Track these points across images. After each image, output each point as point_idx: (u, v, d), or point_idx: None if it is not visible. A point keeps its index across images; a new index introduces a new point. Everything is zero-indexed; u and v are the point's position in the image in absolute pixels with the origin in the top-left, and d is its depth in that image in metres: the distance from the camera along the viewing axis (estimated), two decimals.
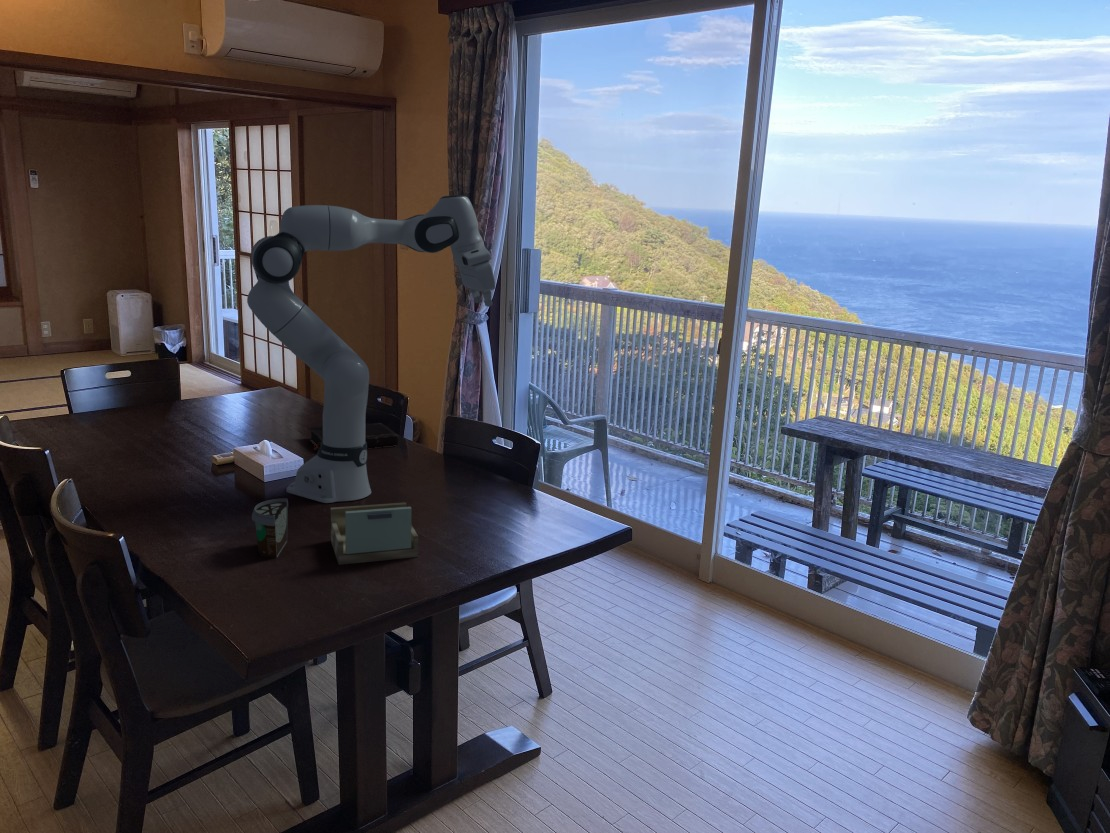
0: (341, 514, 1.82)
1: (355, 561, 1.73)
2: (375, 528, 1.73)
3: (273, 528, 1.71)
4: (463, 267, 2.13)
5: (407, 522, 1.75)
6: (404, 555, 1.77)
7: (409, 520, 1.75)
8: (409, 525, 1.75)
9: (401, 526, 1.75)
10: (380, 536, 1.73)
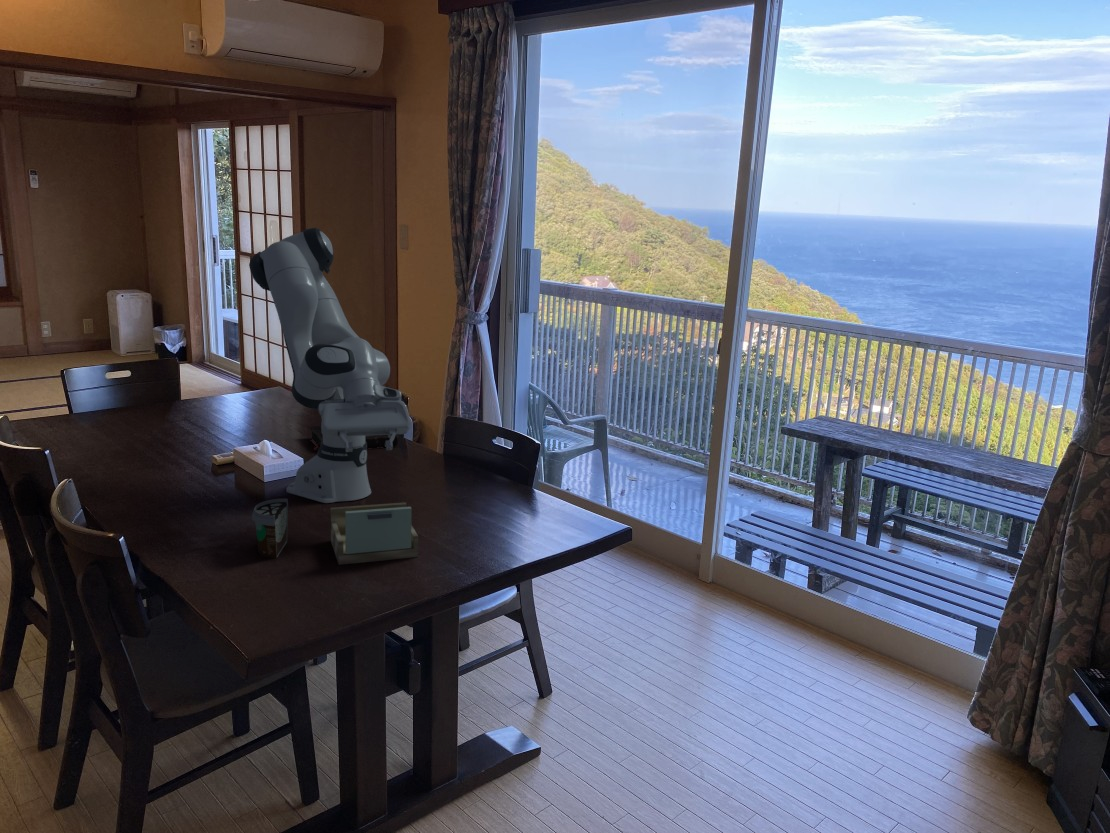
0: (341, 514, 1.82)
1: (355, 561, 1.73)
2: (375, 528, 1.73)
3: (273, 528, 1.71)
4: (370, 401, 1.86)
5: (407, 522, 1.75)
6: (404, 555, 1.77)
7: (409, 520, 1.75)
8: (409, 525, 1.75)
9: (401, 526, 1.75)
10: (380, 536, 1.73)
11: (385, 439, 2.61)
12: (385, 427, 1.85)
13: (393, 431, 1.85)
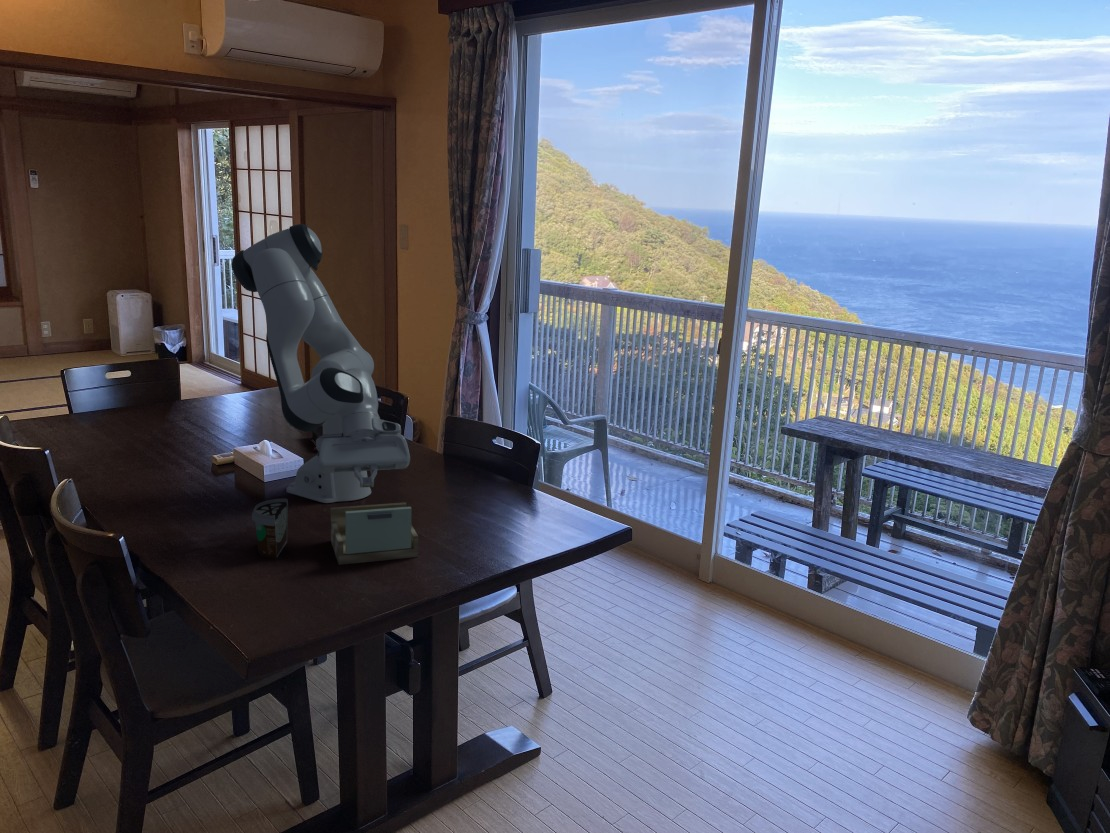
0: (341, 514, 1.82)
1: (355, 561, 1.73)
2: (375, 528, 1.73)
3: (273, 528, 1.71)
4: (368, 435, 1.81)
5: (407, 522, 1.75)
6: (404, 555, 1.77)
7: (409, 520, 1.75)
8: (409, 525, 1.75)
9: (401, 526, 1.75)
10: (380, 536, 1.73)
11: None
12: (383, 462, 1.80)
13: (375, 467, 1.79)
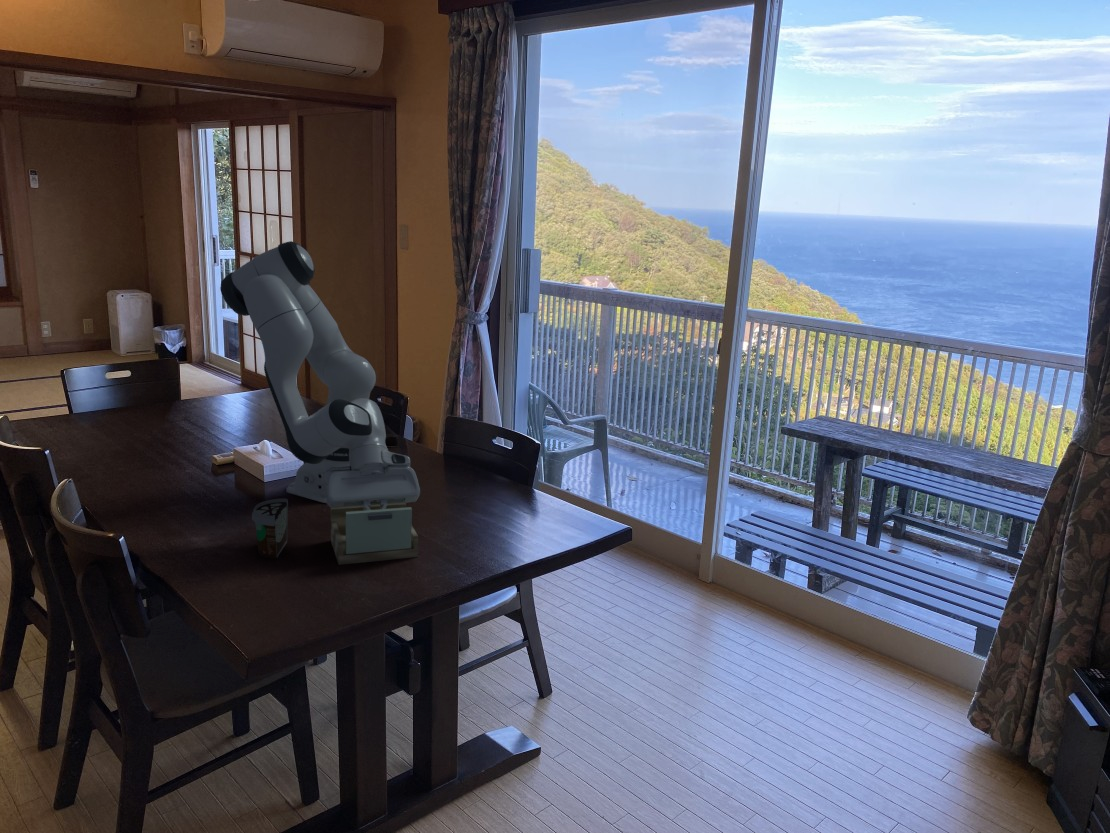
0: (341, 514, 1.82)
1: (355, 561, 1.73)
2: (375, 528, 1.72)
3: (273, 528, 1.71)
4: (377, 469, 1.77)
5: (407, 523, 1.75)
6: (404, 555, 1.77)
7: (409, 521, 1.75)
8: (409, 525, 1.75)
9: (401, 526, 1.74)
10: (380, 536, 1.73)
11: None
12: (393, 496, 1.76)
13: (384, 502, 1.76)
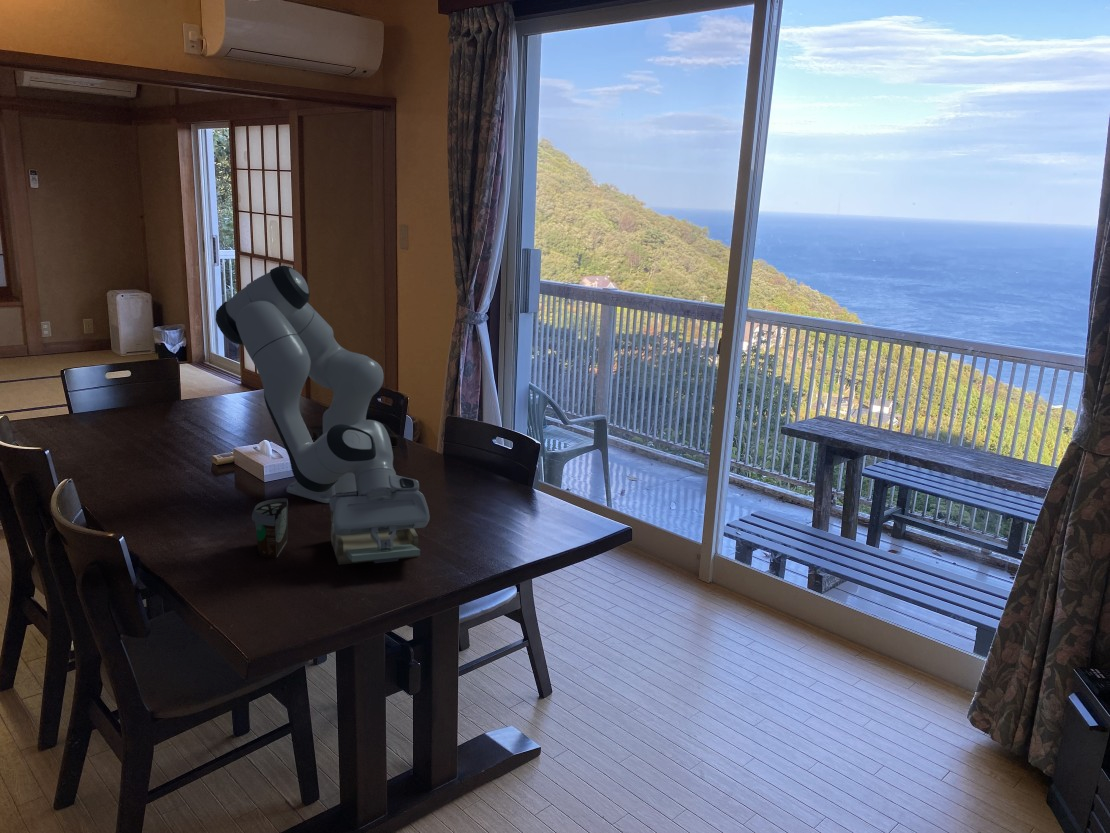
0: None
1: None
2: None
3: (273, 528, 1.71)
4: (385, 494, 1.70)
5: None
6: None
7: None
8: None
9: None
10: None
11: None
12: (402, 523, 1.69)
13: (393, 528, 1.69)
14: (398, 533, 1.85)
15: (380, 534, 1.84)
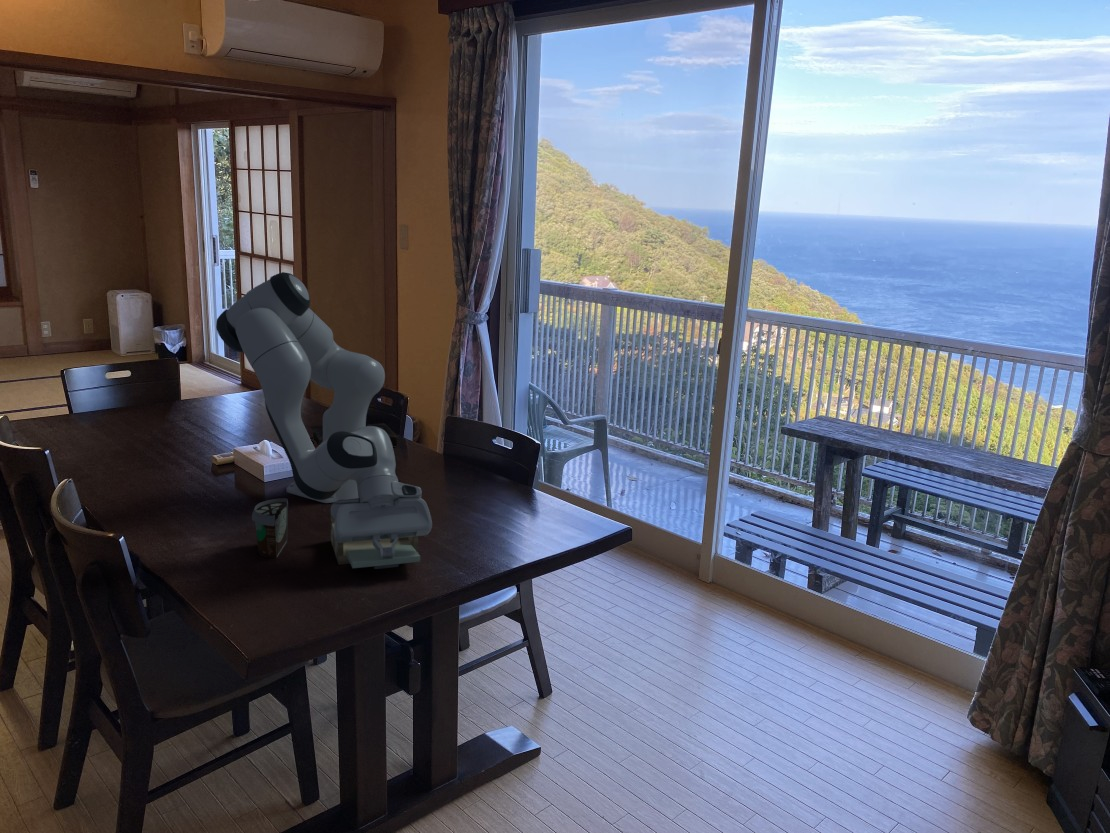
0: None
1: None
2: None
3: (273, 528, 1.71)
4: (387, 501, 1.68)
5: None
6: None
7: None
8: None
9: None
10: None
11: None
12: (404, 530, 1.67)
13: (395, 536, 1.67)
14: None
15: None
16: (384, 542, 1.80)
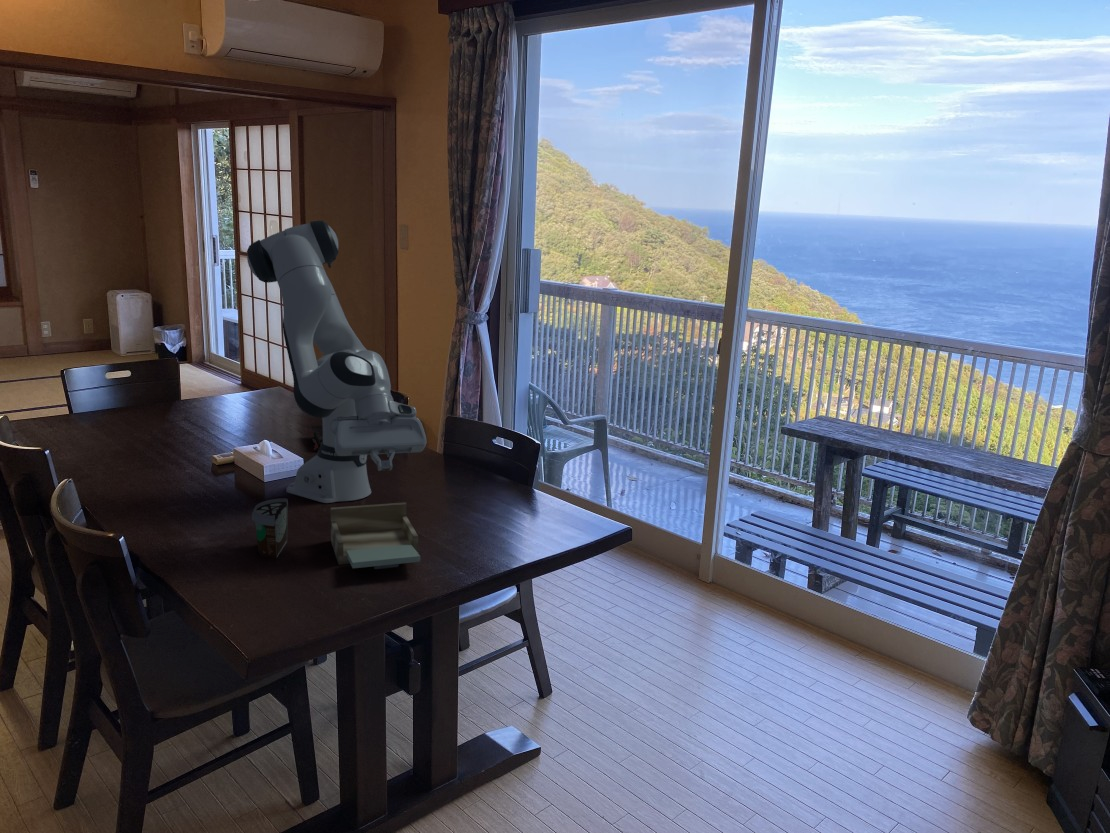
0: (341, 514, 1.82)
1: None
2: None
3: (273, 528, 1.71)
4: (385, 418, 1.79)
5: None
6: None
7: None
8: None
9: None
10: None
11: None
12: (401, 445, 1.78)
13: (392, 450, 1.78)
14: (398, 533, 1.85)
15: (380, 534, 1.84)
16: (384, 542, 1.80)
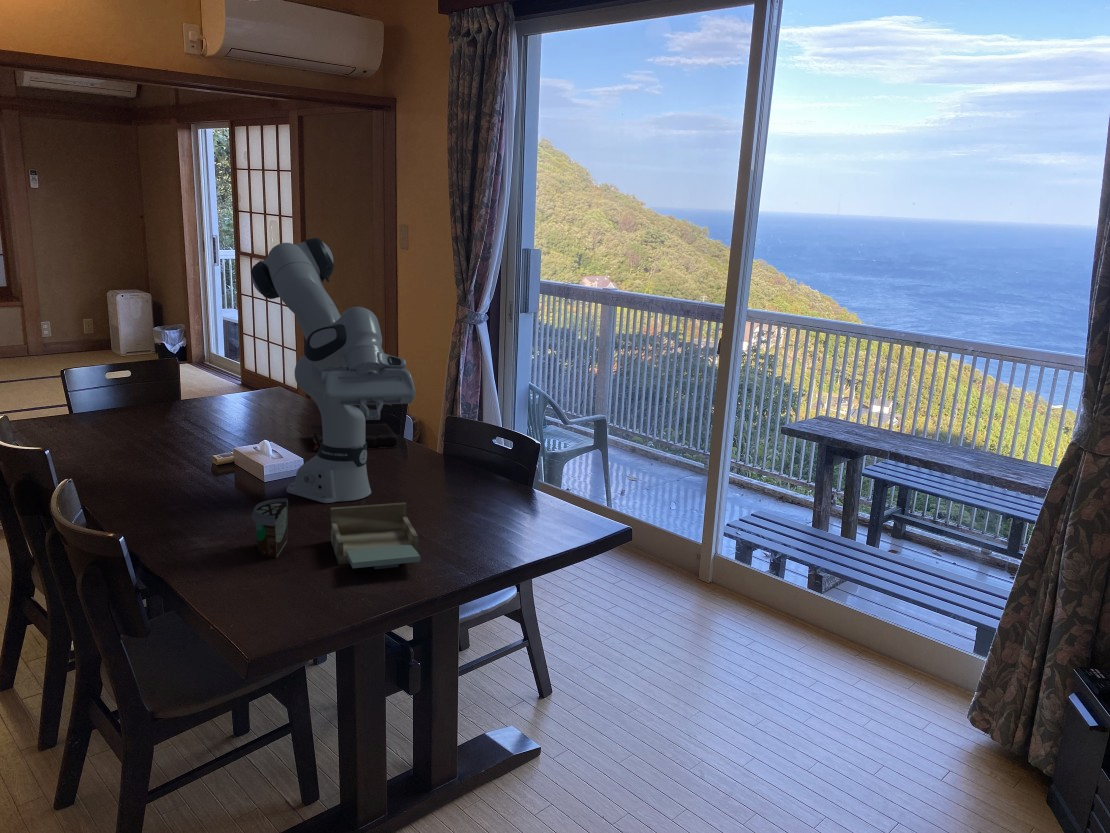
0: (341, 514, 1.82)
1: None
2: None
3: (273, 528, 1.71)
4: (374, 369, 1.81)
5: None
6: None
7: None
8: None
9: None
10: None
11: (383, 440, 2.60)
12: (389, 396, 1.80)
13: (381, 400, 1.79)
14: (398, 533, 1.85)
15: (380, 534, 1.84)
16: (384, 542, 1.80)
